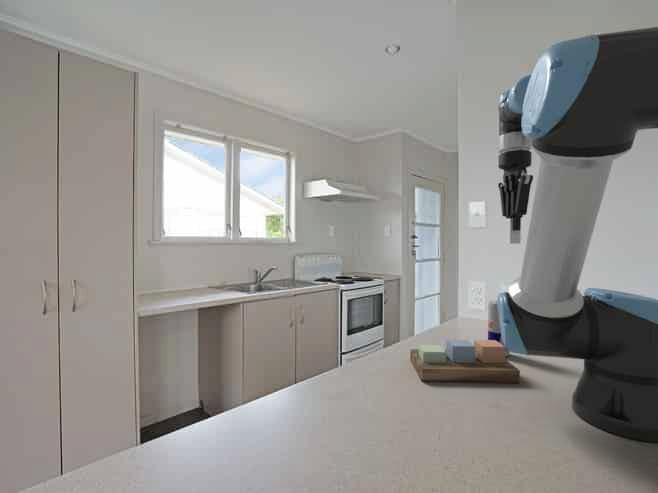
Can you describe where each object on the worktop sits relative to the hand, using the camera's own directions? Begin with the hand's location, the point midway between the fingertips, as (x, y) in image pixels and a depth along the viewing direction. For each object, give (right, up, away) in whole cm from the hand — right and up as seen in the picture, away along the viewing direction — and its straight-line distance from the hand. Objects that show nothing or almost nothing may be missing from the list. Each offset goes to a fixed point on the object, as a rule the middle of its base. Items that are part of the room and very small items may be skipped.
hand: (513, 243), depth 90 cm
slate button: (-15, -29, -4) cm, 33 cm away
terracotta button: (-9, -29, -4) cm, 30 cm away
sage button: (-22, -30, -4) cm, 38 cm away
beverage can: (0, -32, +8) cm, 33 cm away
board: (-15, -32, -4) cm, 36 cm away
